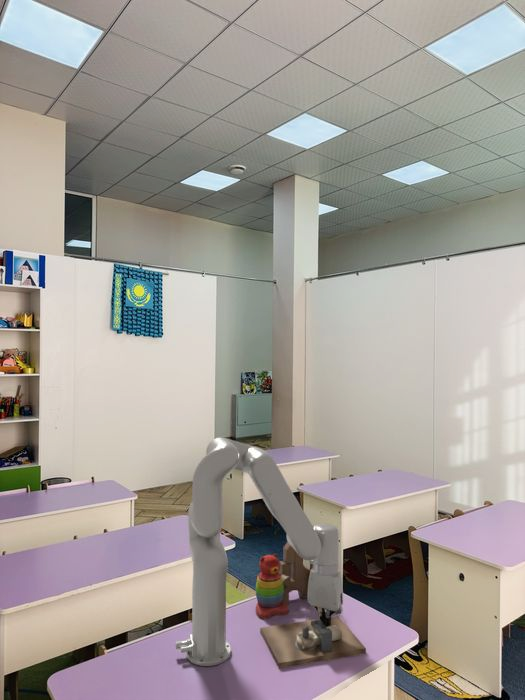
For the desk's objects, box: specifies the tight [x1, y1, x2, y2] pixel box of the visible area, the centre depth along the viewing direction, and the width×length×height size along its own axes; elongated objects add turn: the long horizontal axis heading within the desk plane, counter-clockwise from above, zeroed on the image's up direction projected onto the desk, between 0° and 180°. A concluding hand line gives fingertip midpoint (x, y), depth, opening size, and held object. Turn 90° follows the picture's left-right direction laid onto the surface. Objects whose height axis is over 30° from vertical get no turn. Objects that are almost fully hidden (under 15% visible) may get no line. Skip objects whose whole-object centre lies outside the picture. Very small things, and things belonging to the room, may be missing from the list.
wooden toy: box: [279, 541, 313, 607], centre depth 173 cm, size 15×7×25 cm, turn 112°
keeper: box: [311, 619, 332, 653], centre depth 143 cm, size 3×8×6 cm, turn 16°
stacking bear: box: [255, 553, 290, 620], centre depth 165 cm, size 11×10×18 cm
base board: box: [259, 615, 367, 670], centre depth 146 cm, size 26×18×2 cm
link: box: [296, 625, 342, 649], centre depth 144 cm, size 14×5×4 cm, turn 114°
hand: (325, 628), depth 149 cm, fingers closed
